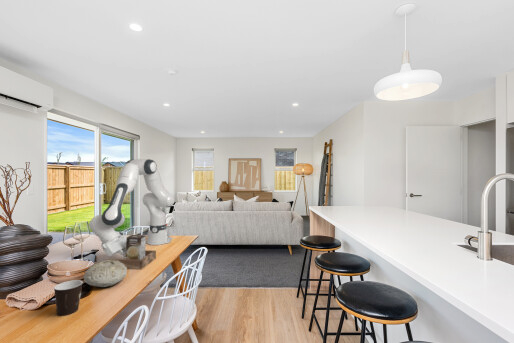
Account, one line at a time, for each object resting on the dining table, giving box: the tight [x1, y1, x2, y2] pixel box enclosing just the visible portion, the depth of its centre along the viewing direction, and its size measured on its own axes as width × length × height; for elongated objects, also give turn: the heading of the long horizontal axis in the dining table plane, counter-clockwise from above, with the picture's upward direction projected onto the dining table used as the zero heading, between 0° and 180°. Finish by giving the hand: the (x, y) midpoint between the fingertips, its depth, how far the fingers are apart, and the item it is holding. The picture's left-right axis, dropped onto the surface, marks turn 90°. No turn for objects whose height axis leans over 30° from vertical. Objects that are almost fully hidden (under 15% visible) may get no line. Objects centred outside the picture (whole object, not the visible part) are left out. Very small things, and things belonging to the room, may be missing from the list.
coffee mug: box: [53, 279, 84, 317], centre depth 92 cm, size 12×9×10 cm
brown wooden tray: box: [117, 249, 157, 270], centre depth 146 cm, size 18×19×6 cm
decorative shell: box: [83, 259, 128, 288], centre depth 118 cm, size 18×18×10 cm
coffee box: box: [125, 234, 147, 260], centre depth 147 cm, size 9×6×16 cm
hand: (126, 255), depth 146 cm, fingers closed, pressing on coffee box
